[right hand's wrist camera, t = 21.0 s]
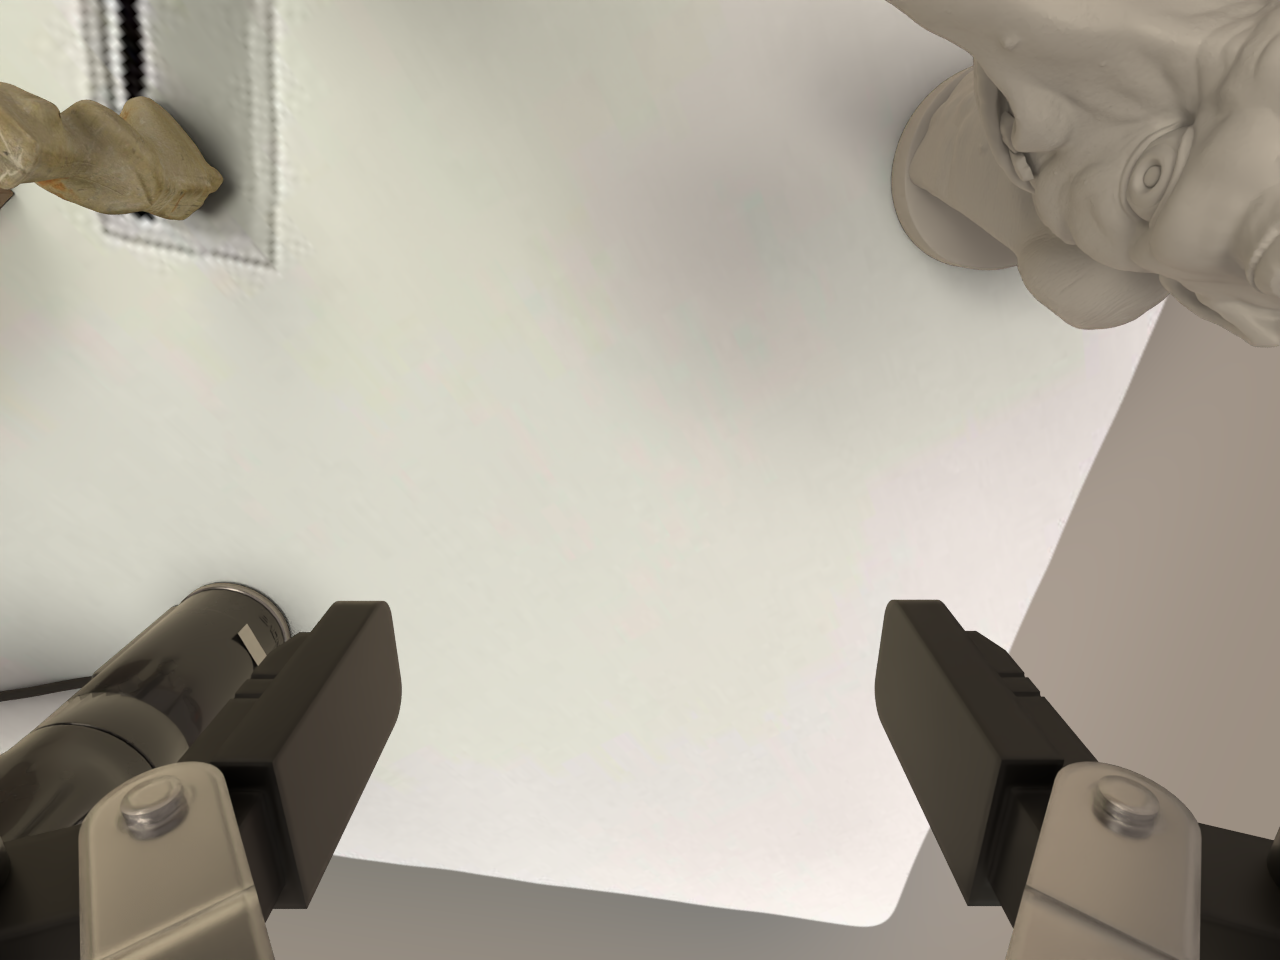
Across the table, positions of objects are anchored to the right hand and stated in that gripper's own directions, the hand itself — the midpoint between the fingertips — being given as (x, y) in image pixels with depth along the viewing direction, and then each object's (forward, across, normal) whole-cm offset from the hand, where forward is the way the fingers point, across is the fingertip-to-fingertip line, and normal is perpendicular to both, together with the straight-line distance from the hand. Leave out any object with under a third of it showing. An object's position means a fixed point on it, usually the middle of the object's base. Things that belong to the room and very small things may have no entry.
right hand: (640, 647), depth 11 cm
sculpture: (+42, -31, +10) cm, 53 cm away
